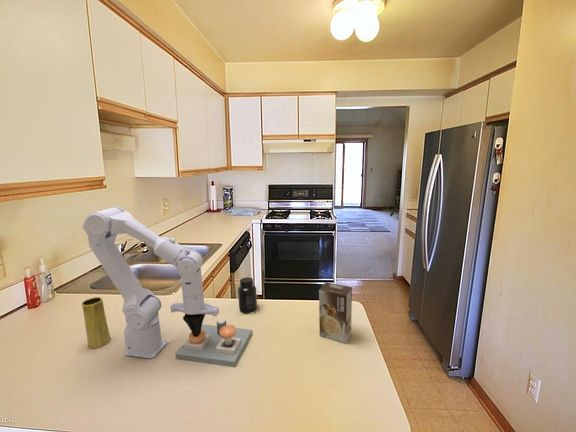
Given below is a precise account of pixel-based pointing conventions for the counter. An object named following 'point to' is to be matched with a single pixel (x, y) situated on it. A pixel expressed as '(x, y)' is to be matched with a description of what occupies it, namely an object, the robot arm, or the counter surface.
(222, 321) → the white domed button
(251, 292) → the supplement bottle
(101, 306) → the vase
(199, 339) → the knob
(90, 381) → the counter surface
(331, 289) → the coffee box
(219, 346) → the mount board
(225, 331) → the knob
